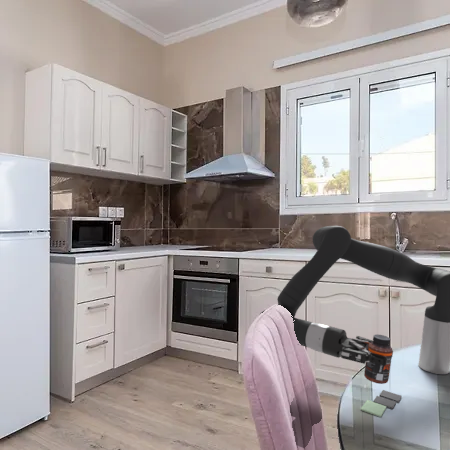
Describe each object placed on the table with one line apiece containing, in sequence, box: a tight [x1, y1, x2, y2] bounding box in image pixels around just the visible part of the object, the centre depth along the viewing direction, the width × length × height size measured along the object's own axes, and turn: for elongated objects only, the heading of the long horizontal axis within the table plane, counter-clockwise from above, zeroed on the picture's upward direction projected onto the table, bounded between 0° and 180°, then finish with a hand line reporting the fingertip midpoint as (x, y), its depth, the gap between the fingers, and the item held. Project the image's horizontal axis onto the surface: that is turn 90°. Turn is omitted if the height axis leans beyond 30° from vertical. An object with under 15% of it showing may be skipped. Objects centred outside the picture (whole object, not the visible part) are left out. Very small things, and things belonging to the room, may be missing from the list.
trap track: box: [360, 389, 402, 418], centre depth 110 cm, size 16×7×1 cm, turn 146°
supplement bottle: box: [363, 334, 394, 385], centre depth 106 cm, size 6×6×11 cm
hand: (389, 357), depth 105 cm, fingers closed on supplement bottle, 6 cm apart
